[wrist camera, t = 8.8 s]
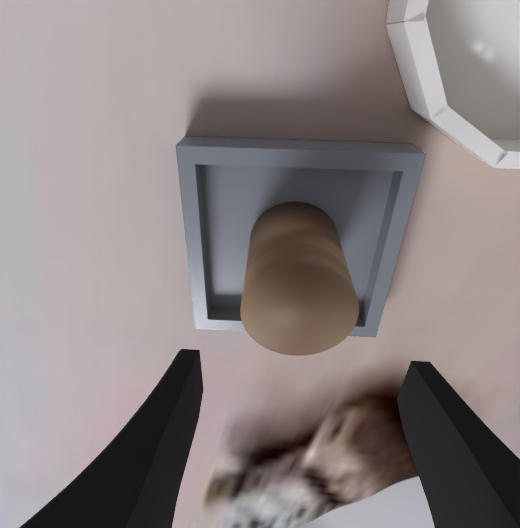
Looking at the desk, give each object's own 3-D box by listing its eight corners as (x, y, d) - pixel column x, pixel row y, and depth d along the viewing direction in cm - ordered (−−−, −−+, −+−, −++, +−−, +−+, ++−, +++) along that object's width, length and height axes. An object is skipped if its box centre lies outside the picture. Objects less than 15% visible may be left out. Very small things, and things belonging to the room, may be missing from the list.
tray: (412, 143, 17) (426, 154, 15) (369, 317, 23) (375, 337, 21) (184, 136, 17) (175, 145, 16) (200, 309, 23) (195, 328, 22)
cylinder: (345, 205, 18) (371, 269, 13) (329, 281, 21) (346, 359, 16) (252, 198, 18) (242, 259, 13) (248, 274, 21) (238, 351, 16)
